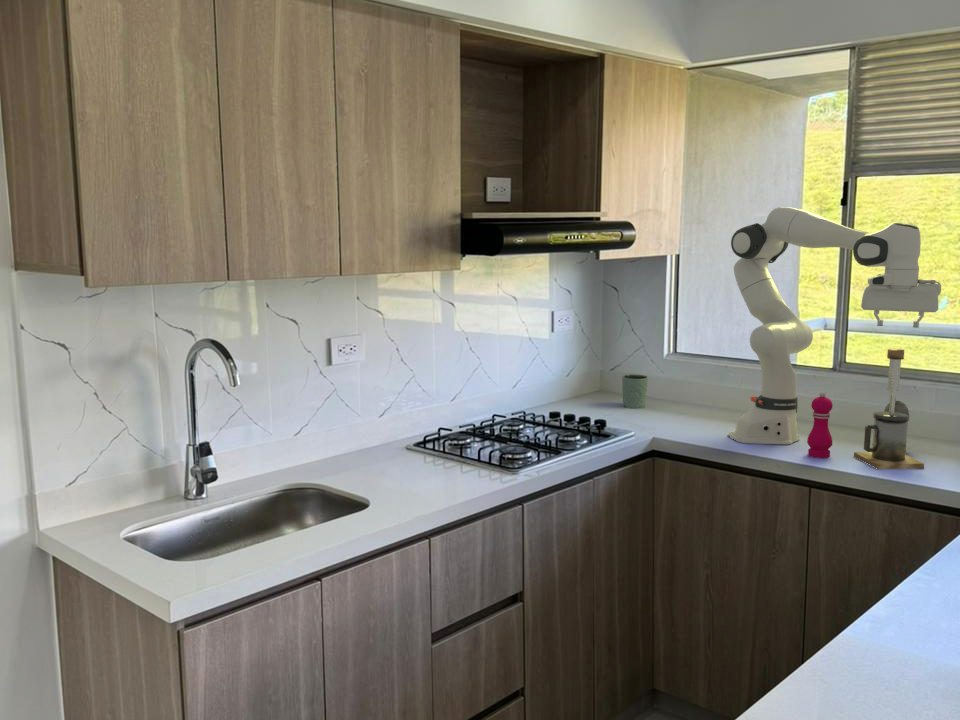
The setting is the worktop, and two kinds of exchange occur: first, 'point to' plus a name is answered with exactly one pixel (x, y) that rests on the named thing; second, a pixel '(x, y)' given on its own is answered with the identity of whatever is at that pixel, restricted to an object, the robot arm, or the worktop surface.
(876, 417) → the press
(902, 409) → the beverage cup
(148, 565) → the worktop surface
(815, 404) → the pepper mill
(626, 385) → the green cup
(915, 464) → the plate
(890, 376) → the plunger
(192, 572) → the worktop surface
